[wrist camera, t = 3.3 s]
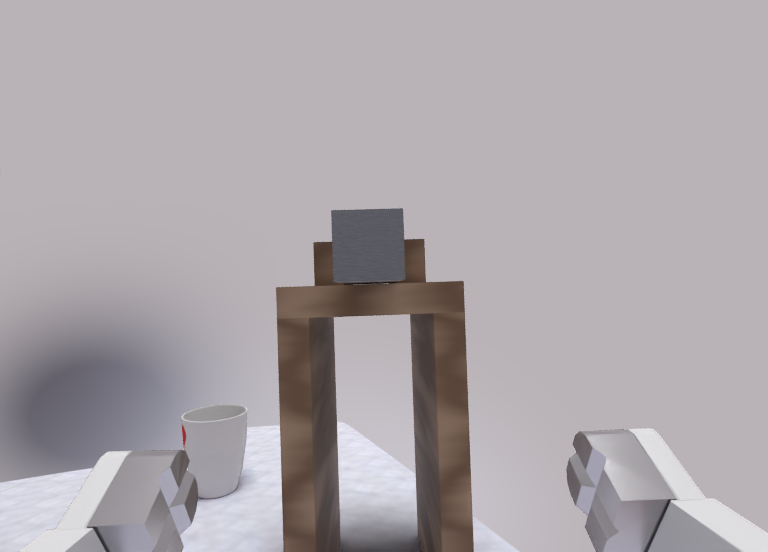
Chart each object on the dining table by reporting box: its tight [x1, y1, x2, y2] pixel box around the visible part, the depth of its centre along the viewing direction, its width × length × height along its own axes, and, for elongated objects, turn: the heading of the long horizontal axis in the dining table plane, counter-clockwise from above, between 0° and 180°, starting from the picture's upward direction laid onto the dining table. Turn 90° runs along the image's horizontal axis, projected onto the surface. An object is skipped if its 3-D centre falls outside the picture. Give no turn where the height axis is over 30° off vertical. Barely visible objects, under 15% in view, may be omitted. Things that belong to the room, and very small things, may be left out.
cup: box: [181, 405, 247, 499], centre depth 59 cm, size 8×8×10 cm
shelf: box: [276, 239, 474, 552], centre depth 37 cm, size 12×18×29 cm, turn 2°
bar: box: [331, 209, 405, 284], centre depth 32 cm, size 3×26×3 cm, turn 2°
